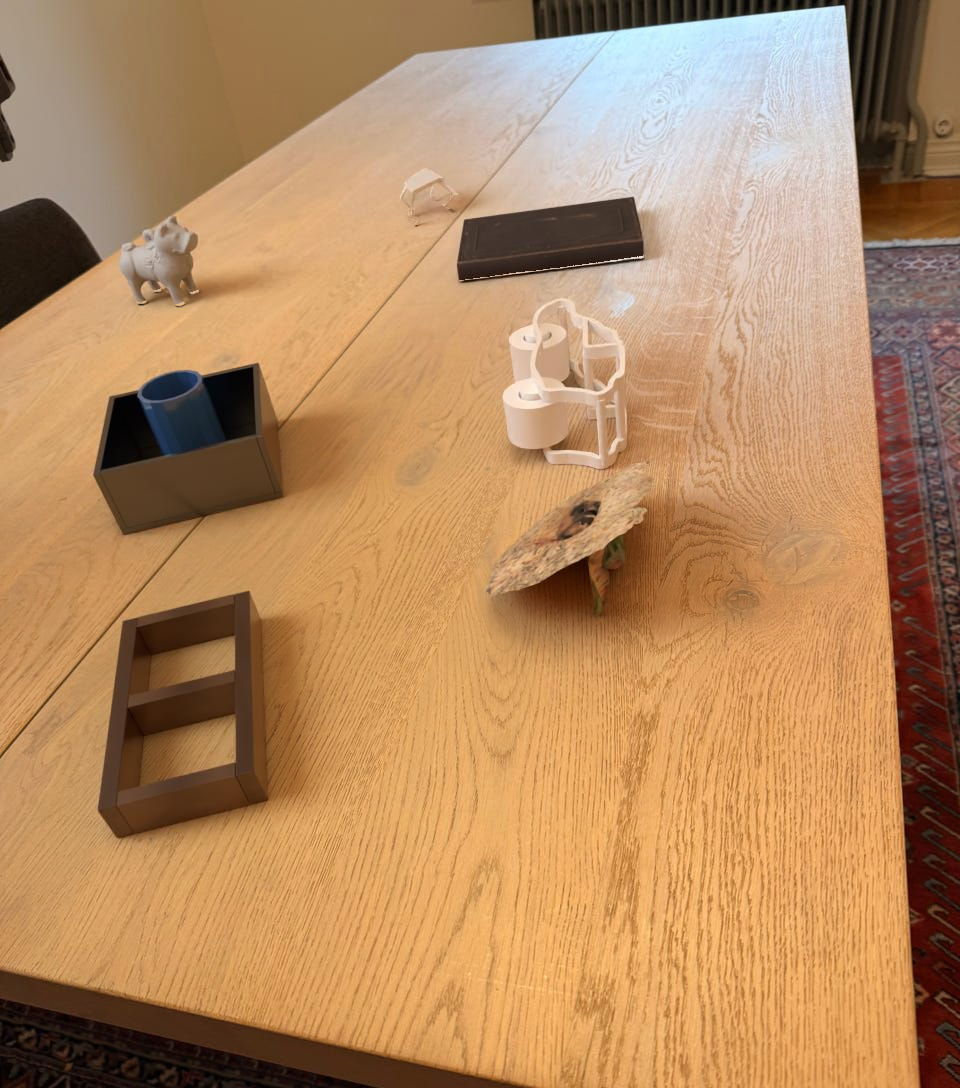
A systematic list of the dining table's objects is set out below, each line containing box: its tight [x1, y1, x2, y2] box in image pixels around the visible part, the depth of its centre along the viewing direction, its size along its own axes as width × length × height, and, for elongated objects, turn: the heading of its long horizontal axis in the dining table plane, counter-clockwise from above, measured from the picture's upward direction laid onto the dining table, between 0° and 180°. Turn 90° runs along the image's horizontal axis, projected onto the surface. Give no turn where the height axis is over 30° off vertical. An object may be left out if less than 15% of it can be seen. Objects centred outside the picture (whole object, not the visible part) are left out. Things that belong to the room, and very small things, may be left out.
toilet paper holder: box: [502, 297, 628, 470], centre depth 88 cm, size 20×11×7 cm, turn 176°
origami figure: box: [399, 166, 459, 223], centre depth 138 cm, size 12×8×5 cm
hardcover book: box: [456, 196, 645, 281], centre depth 121 cm, size 16×23×2 cm
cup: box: [137, 369, 226, 456], centre depth 89 cm, size 6×6×9 cm
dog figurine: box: [118, 214, 199, 305], centre depth 125 cm, size 5×13×11 cm, turn 70°
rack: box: [97, 590, 269, 839], centre depth 67 cm, size 10×19×3 cm, turn 12°
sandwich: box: [485, 460, 655, 617], centre depth 71 cm, size 18×14×8 cm
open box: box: [92, 362, 284, 536], centre depth 91 cm, size 15×15×7 cm
